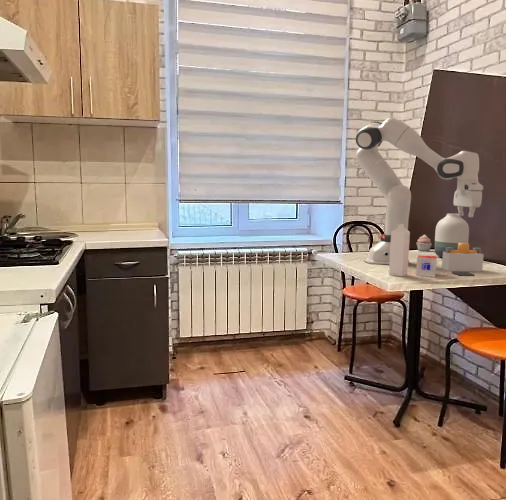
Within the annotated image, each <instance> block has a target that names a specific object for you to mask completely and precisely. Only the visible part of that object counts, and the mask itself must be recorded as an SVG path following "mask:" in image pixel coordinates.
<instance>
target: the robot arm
mask: <svg viewBox="0 0 506 500" xmlns="http://www.w3.org/2000/svg"><path fill="white" fill-rule="evenodd" d="M383 141H385V142H388V143H389V144H391V145H392V146H394V147H396V148H397V149H398V150H400V151H402V152H404V153H407V154H409V155H410V156H411V155H412V156H415V157H417V158H418V159H420V160H422V161H423V162H424V163H426V164H427V165H429V166H430V167H432V169H433V170H435V173H436V174H437V176H438V178H439V179H441V180H443V181H451V180H454V179H456V178H457V179H456V180H457V183H456V185H457V186H456V190H455V191H454V193H453V194H454V195H453V206H455V207H457V210H458V214H459V216H460V217H463V216H464V215H465V212H464V208H466V207H467V208H468V209H469V212H468V214H467V216H468V218H474V214H475V211H476V208H480V207H481V205H482V202H483V201H482V200H483V190H484V185H482V184H481V183H480V181H479V177H478V175H479V171H480V157H479V154H478V153H477V152H476V151H474V150H473V151H472V150H465V149H464V150H461V151H460V152H458V153H456V154H454V155H452V156H448V157H446V158H445V157H444V156H441V155H439V154H438V153H437V152H435V150H432V148H430V147H429V146H428V145H427V144H426V143H425V141H424V139H423V138H422V137H421V135H420V134H419V133H418V132H417V131H416V130H415V129H414V128H412V127H411V126H410V125H408V124H407V123H406V122H404V121H401V120H399V119H397V118H395V117H389V118H386V119H385V120H384V121H383V122H380V121H373V122H370V123H368V124H366V125H365V126H363V127H362V128H360V129H359V130H358V131H357V133H356V135H355V144H356V145H357V147H359V148H358V149H357V150H356V154H355V158H356V160H357V161H358V165H360V167H361V169H363V172H365V174H366V175H367V176H368V178H369V179H370V180H371V182H372V183H373V184H374V185H375V187H376V188H377V190H378V191H379V192H380V193H381V194H382V196H383V198H384V199H385V200H386V212H385V223H384V233H383V234H381V233H380V234H378V235H377V237H378V238H379V239H380V241H379V242H377V243H375V244H374V245H373V246H372V247H371V248H370V249H369V251H368V254H367V255H368V256H367V257H364V258H363V262H365V263H368V264H372V265H374V264H375V265H389V263H390V245H391V231H393V230H395V229H397V228H398V225H399V224H404V228H405V229H407V230H408V229H409V219H410V218H409V217H410V210H411V201H412V193H411V190H410V189H409V187H408V186H406V185H405V184H403V182H402V181H401V180H400V178H399V177H398V176H397V174H396V173H395V171H394V170H393V168H392V167H391V166H390V165H389V164H388V162H387V161H386V160H385V158H384V157H383V156H382V154H381V153H380V152H379V148H378V147H380V146H381V145H382V143H383ZM408 231H409V230H408ZM408 264H410V259H409V258H408Z"/></svg>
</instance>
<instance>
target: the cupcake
mask: <svg viewBox="0 0 506 500" xmlns="http://www.w3.org/2000/svg"><path fill="white" fill-rule="evenodd" d="M415 244H416V246H417V251H419V252H424V251H427V252H430V251H431V247H432V245H433V243H432V242H431V238H429V237H428V236H427V235H426V234H423V235H421V236H419V238H418V239H417V242H415Z"/></svg>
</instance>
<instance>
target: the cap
mask: <svg viewBox="0 0 506 500" xmlns="http://www.w3.org/2000/svg"><path fill="white" fill-rule="evenodd" d="M477 252H478V251H477V250H474V249H470V243H469V242H468V243H458V250H450V253H463V254H468V253H477Z"/></svg>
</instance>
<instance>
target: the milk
mask: <svg viewBox="0 0 506 500" xmlns="http://www.w3.org/2000/svg"><path fill="white" fill-rule="evenodd" d="M410 235H411V232H410V231H409V230H407V229H405V228H404V224H399V225H398V228H397V229H395V230H393V231H391V245H390V263H389V264H388V266H389V267H388V275H389V276H396V277H404V276H407V275H408V270H409V269H408V268H409V263H408V259H409V257H410V255H409V253H410V237H411V236H410Z"/></svg>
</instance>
